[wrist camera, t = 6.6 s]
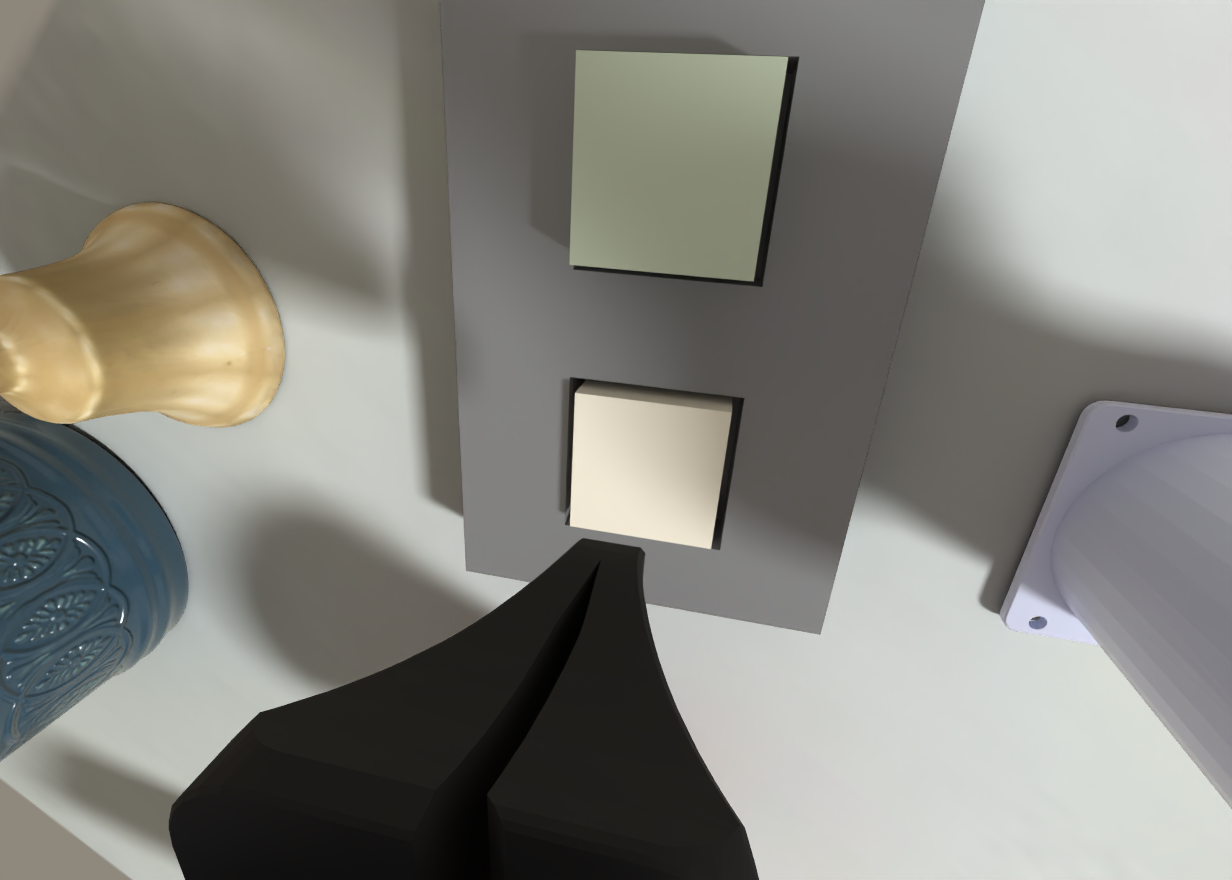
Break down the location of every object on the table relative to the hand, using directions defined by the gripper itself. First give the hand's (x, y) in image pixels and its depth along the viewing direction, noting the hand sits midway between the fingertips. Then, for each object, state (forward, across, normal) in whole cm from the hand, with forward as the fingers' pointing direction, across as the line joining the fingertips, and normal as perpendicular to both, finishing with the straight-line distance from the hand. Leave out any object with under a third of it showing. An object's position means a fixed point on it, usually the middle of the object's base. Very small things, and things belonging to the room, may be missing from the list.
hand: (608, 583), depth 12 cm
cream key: (+8, 0, 0) cm, 8 cm away
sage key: (+7, 0, -8) cm, 10 cm away
